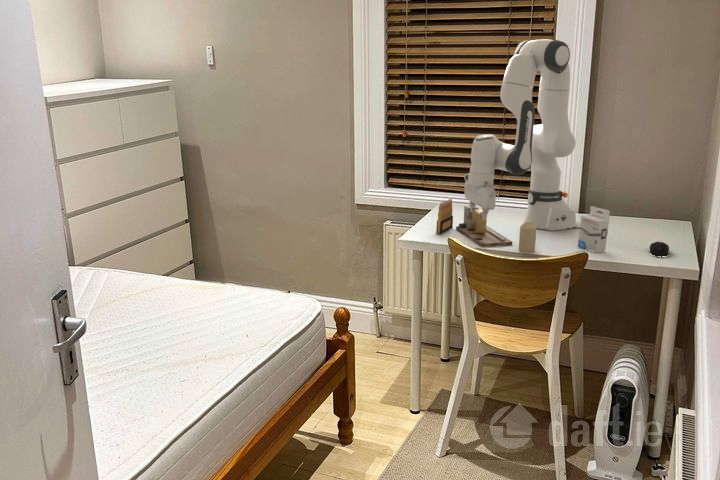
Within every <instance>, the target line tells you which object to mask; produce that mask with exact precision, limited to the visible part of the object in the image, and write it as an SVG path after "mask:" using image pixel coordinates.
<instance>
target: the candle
mask: <svg viewBox="0 0 720 480" xmlns="http://www.w3.org/2000/svg"><path fill="white" fill-rule="evenodd" d="M537 230H538V228H537V227H536V226H535V225H534V223H531V222H529V223H528V222H525V223H524V224H523V223H522V224H521V225H520V227H519V239H518V251H519V252H521V253H527V252H528V253H534V252H535V251H536V250H535V249H536V239H537V238H536V237H537Z"/></svg>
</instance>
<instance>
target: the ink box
mask: <svg viewBox="0 0 720 480" xmlns="http://www.w3.org/2000/svg"><path fill="white" fill-rule="evenodd" d="M589 209H590V210H589V214H584V215H581V216H580V227H579V233H578V243H577V248H578V247H580V248H579V249H582V248H583V249H582V250H585V249H587V250H586V251H588V250H591V251H594V252H597V253H596V254H599V253H598V252H600V251H604V250H605V251H606V247H607V239H608V232H609V224H610V209H609V210H608V209H605V208H600V207H596V206H593V205H591V206H590V208H589ZM591 251H590V252H591ZM605 251H604V252H605ZM594 252H593V253H594ZM600 253H601V252H600Z"/></svg>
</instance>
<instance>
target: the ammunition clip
mask: <svg viewBox="0 0 720 480" xmlns="http://www.w3.org/2000/svg"><path fill="white" fill-rule="evenodd" d="M452 200H453V198H448V199H447V200H444V201H442V202H439V205H438V213H437V220H436V232H435V233H437V234H438V235H442V234H444V233H446V232H448V231H450V230H452V229H453V225H454V224H453V223H454V216H453V201H452Z"/></svg>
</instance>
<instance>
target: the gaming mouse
mask: <svg viewBox="0 0 720 480" xmlns="http://www.w3.org/2000/svg"><path fill="white" fill-rule="evenodd" d="M649 248H650V251H649V254H650V253H651V254H652V255H655V256H661V257H662V256H667V255H668V256H669V253H668V252H670V246H669V244H667V243H665V242H663V241H656V242H655V241H654V242H652V243H650V245H649Z"/></svg>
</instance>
